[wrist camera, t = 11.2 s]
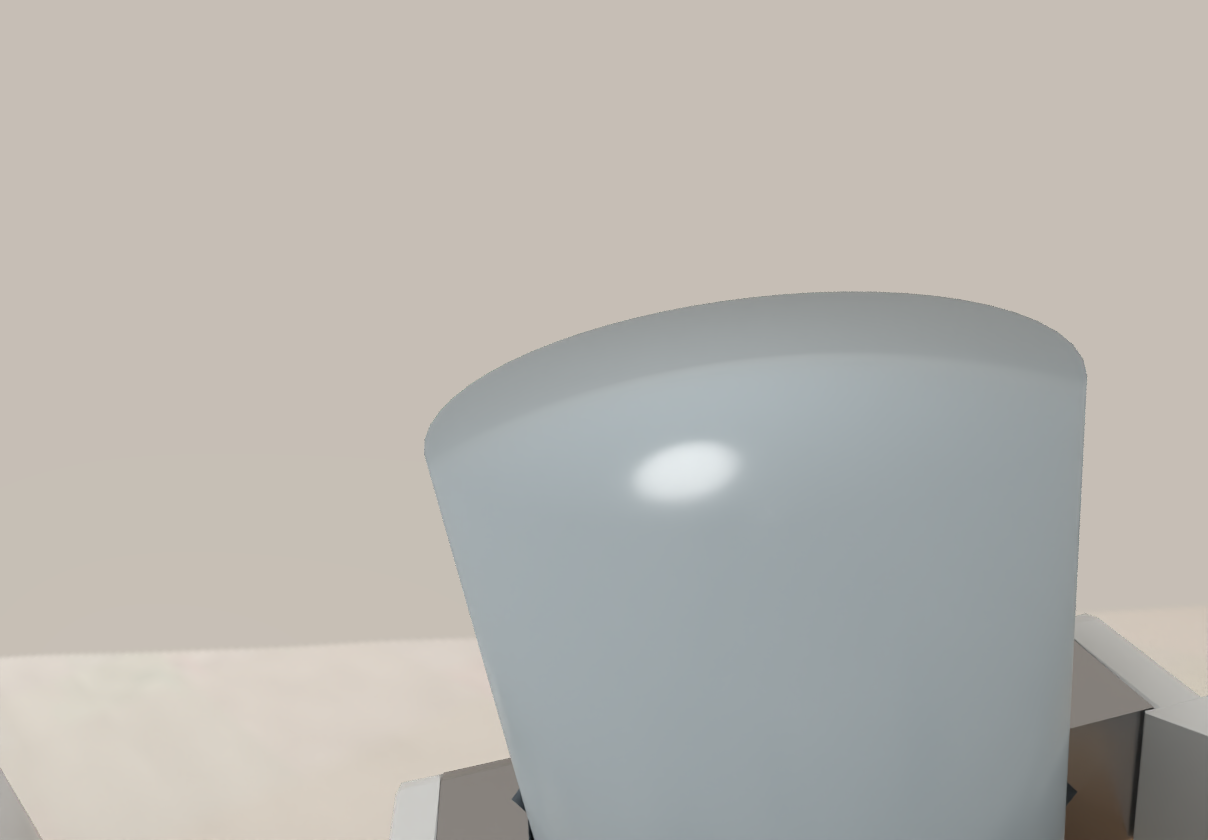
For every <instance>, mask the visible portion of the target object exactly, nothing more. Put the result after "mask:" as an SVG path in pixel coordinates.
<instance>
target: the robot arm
mask: <svg viewBox="0 0 1208 840" xmlns="http://www.w3.org/2000/svg"><path fill="white" fill-rule="evenodd" d="M1129 839H1133V840H1208V696H1204V697H1200V696H1199V695H1198V694H1196V693H1195V692H1194V691H1192V690H1191V689H1190V688H1189V687H1187V686H1186V685H1185V684H1183V683H1182V682H1181V681H1179V680H1178V679H1177V678H1176V677H1174V676H1173V675H1172V674H1170V673H1169V672H1168V671H1166V670H1165V669H1164V668H1163V667H1161V666H1160V665H1159V664H1157V663H1156V662H1155V661H1153V660H1152V659H1151V658H1150V657H1148V656H1147V655H1146V654H1144V653H1143V652H1142V651H1140V650H1139V649H1138V648H1137V647H1135V646H1134V645H1133V644H1131V643H1130V642H1129V641H1127V640H1126V639H1125V638H1124V637H1122V636H1121V635H1120V634H1118V633H1117V632H1116V631H1115V630H1113V629H1112V628H1111V627H1109V626H1108V625H1107V624H1105V623H1104V622H1103V621H1102V620H1100V619H1099V618H1097V617H1095V616H1092V615H1088V614H1082V615H1078V616H1075V631H1074V651H1073V672H1072V692H1071V713H1070V733H1069V754H1068V774H1067V794H1066V815H1065V835H1064V840H1129ZM389 840H534V838H533V835H532V831H531V828H530V824H529V821H528V817H527V814H526V810H525V807H524V803H523V800H522V796H521V792H520V789H519V785H518V782H517V778H516V775H515V771H514V768H513V764H512V761H511V758H508V759H503V760H499V761H494V762H490V763H485V764H481V765H476V766H472V767H467V768H463V769H458V770H454V771H449V772H445V773H444V774H441V775H436V776H431V777H427V778H422V779H418V780H413V781H408V782H404V783H401V785H400V787H399V789H398V791H397V793H396V795H395V803H394V810H393V817H392V824H391V831H390V838H389Z"/></svg>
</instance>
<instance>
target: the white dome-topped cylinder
mask: <svg viewBox="0 0 1208 840" xmlns="http://www.w3.org/2000/svg"><path fill="white" fill-rule="evenodd" d="M0 840H43V839H42V838H41V836H40V834H39V833H38V831H37V829H36V827H35V826H34V824H33V822H32V821H31V819H30V817H29V816H28V814H27V812H26V810H25V809H24V807H23V805H22V804H21V802H20V800H19V799H18V797H17V795H16V794H15V792H14V790H13V788H12V787H11V785H10V783H9V782H8V780H7V778H6V777H5V775H4V773H3V772H2V770H1V768H0Z"/></svg>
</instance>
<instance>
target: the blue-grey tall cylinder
mask: <svg viewBox="0 0 1208 840" xmlns="http://www.w3.org/2000/svg"><path fill="white" fill-rule="evenodd" d="M1086 385H1087V374H1086V369H1085V365H1084V361H1083V358H1082V357H1081V355H1080V354H1079V353H1078V351H1077V350H1076V348H1075V347H1074V345H1073V344H1072V343H1070V342H1069V341H1068V340H1067V339H1066V338H1064V337H1063V336H1062V335H1061V334H1059V333H1058V332H1057V331H1055V330H1053V329H1051V328H1049V327H1048V326H1046V325H1044V324H1042V323H1040V322H1038V321H1036V320H1033V319H1031V318H1028V317H1026V316H1023V315H1020V314H1018V313H1015V312H1012V311H1008V310H1005V309H1001V308H997V307H994V306H990V305H986V304H981V303H976V302H970V301H966V300H961V299H953V298H946V297H939V296H931V295H919V294H908V293H890V292H816V293H798V294H783V295H772V296H762V297H752V298H744V299H736V300H728V301H720V302H715V303H708V304H703V305H696V306H690V307H685V308H679V309H674V310H669V311H664V312H659V313H655V314H651V315H646V316H642V317H637V318H633V319H629V320H625V321H622V322H618V323H614V324H611V325H607V326H603V327H600V328H597V329H593V330H590V331H587V332H584V333H580V334H577V335H575V336H572V337H569V338H566V339H563V340H560V341H557V342H554V343H552V344H549V345H547V346H544V347H542V348H540V349H537V350H534V351H532V352H530V353H527V354H525V355H523V356H521V357H519V358H517V359H514V360H512V361H510V362H508V363H506V364H504V365H502V366H500V367H499V368H497V369H495V370H493V371H491V372H489V373H488V374H486V375H485V376H483V377H481V378H480V379H478V380H477V381H475V382H473V383H472V384H470V385H469V386H468V387H466V388H465V389H464V390H462V391H461V392H460V393H459V394H457V395H456V396H455V397H453V398H452V399H451V400H450V401H449V403H448V404H446V405H445V407H443V408H442V409H441V411H440V412H439V413H438V415H437V416H436V417H435V419H434V420H433V422H432V423H431V425H430V427H429V430H428V432H427V435H426V438H425V449H424V455H425V459H426V462H427V465H428V469H429V472H430V476H431V480H432V483H433V486H434V490H435V493H436V497H437V500H438V504H439V508H440V511H441V515H442V518H443V522H444V525H445V529H446V532H447V536H448V539H449V543H450V546H451V550H452V553H453V557H454V560H455V564H456V567H457V571H458V574H459V578H460V581H461V585H462V589H463V592H464V596H465V599H466V603H467V606H468V610H469V613H470V617H471V620H472V623H473V627H474V631H475V634H476V638H477V641H478V645H479V648H480V652H481V655H482V659H483V662H484V666H485V669H486V673H487V676H488V680H489V683H490V687H491V691H492V694H493V698H494V701H495V705H496V708H497V712H498V715H499V719H500V722H501V726H502V729H503V733H504V736H505V740H506V743H507V747H508V750H509V754H510V757H511V761H512V764H513V768H514V771H515V775H516V778H517V782H518V785H519V789H520V792H521V796H522V800H523V803H524V807H525V810H526V814H527V817H528V821H529V824H530V828H531V831H532V835H533V838H534V840H1064V835H1065V815H1066V794H1067V774H1068V754H1069V733H1070V713H1071V692H1072V672H1073V651H1074V631H1075V610H1076V590H1077V570H1078V549H1079V548H1078V547H1079V529H1080V528H1079V527H1080V507H1081V488H1082V466H1083V446H1084V425H1085V406H1086Z"/></svg>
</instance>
